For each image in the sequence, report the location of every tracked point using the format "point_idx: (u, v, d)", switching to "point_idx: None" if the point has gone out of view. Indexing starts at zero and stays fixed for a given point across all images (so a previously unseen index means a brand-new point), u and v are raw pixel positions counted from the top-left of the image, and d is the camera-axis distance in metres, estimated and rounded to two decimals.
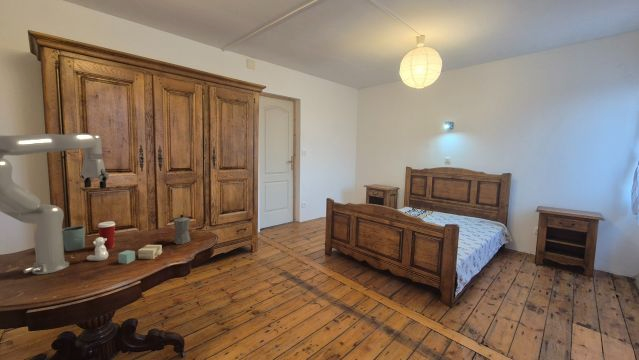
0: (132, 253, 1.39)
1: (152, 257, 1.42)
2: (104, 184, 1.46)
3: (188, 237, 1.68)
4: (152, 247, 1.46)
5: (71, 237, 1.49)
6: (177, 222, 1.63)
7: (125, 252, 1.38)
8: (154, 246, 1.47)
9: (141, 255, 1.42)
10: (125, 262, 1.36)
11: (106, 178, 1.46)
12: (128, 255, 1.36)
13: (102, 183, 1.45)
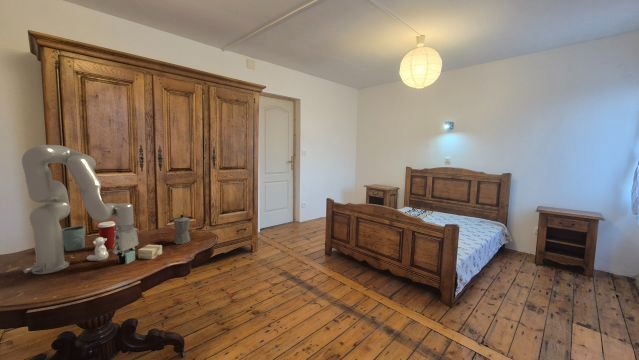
0: (132, 253, 1.39)
1: (151, 257, 1.42)
2: None
3: (188, 237, 1.68)
4: (152, 247, 1.46)
5: (71, 237, 1.49)
6: (177, 222, 1.63)
7: (125, 252, 1.38)
8: (154, 246, 1.47)
9: (140, 254, 1.42)
10: (125, 262, 1.36)
11: None
12: (128, 255, 1.36)
13: None
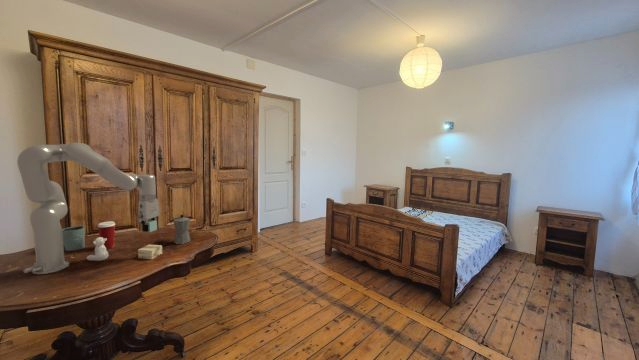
0: (154, 222, 1.45)
1: (151, 257, 1.42)
2: None
3: (188, 237, 1.68)
4: (152, 247, 1.46)
5: (71, 237, 1.49)
6: (177, 222, 1.63)
7: (148, 221, 1.44)
8: (154, 246, 1.47)
9: (140, 254, 1.42)
10: (148, 230, 1.42)
11: None
12: (151, 224, 1.43)
13: None
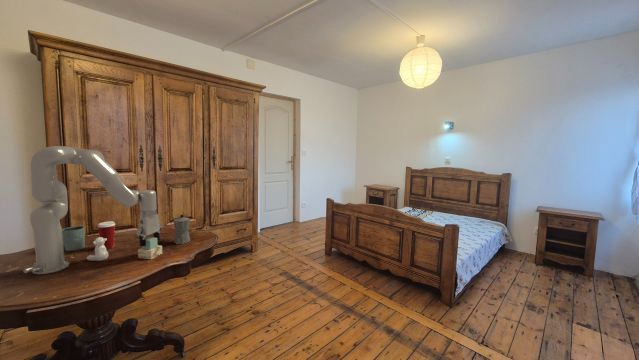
0: (155, 240, 1.46)
1: (150, 257, 1.42)
2: None
3: (188, 237, 1.68)
4: None
5: (71, 237, 1.49)
6: (177, 222, 1.63)
7: (148, 238, 1.45)
8: None
9: (140, 254, 1.43)
10: (149, 248, 1.43)
11: (158, 229, 1.52)
12: (151, 241, 1.43)
13: (158, 235, 1.51)
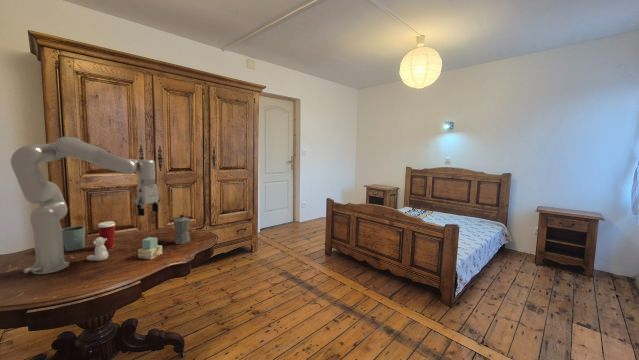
0: (155, 240, 1.46)
1: (150, 257, 1.42)
2: None
3: (188, 237, 1.68)
4: None
5: (71, 237, 1.49)
6: (177, 222, 1.63)
7: (148, 238, 1.45)
8: None
9: (140, 254, 1.43)
10: (148, 248, 1.43)
11: (157, 201, 1.50)
12: (151, 241, 1.44)
13: None
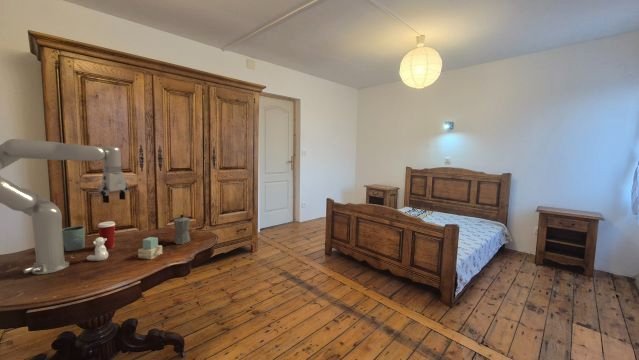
0: (155, 239, 1.46)
1: (150, 257, 1.42)
2: None
3: (188, 237, 1.68)
4: None
5: (71, 237, 1.49)
6: (177, 222, 1.63)
7: (149, 238, 1.45)
8: None
9: (140, 254, 1.43)
10: (149, 248, 1.43)
11: None
12: (152, 241, 1.44)
13: None
